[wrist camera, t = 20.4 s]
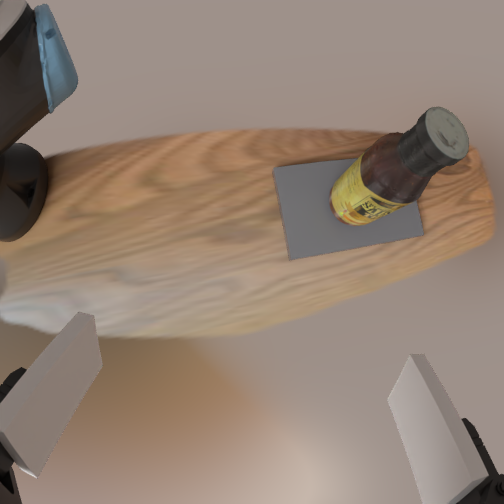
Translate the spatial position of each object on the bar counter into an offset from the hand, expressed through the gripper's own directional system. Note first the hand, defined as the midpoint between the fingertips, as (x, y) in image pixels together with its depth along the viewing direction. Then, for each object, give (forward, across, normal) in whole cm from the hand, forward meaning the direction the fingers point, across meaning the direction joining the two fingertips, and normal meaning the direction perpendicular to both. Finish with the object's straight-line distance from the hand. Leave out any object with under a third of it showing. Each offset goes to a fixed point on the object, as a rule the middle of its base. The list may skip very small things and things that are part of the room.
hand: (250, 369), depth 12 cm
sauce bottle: (+27, +11, +3) cm, 29 cm away
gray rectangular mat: (+28, +11, +2) cm, 31 cm away
